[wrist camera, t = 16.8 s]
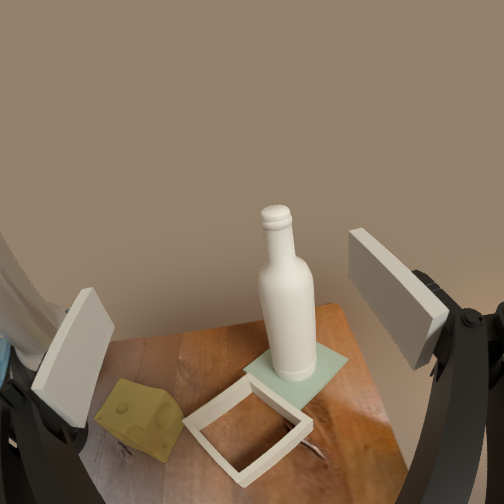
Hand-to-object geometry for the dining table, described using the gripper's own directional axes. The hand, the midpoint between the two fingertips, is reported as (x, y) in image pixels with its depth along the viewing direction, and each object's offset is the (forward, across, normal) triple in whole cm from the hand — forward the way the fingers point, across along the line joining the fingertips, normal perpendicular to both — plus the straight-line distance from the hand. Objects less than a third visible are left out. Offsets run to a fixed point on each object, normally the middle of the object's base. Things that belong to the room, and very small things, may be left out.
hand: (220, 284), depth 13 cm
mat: (+20, +6, -35) cm, 41 cm away
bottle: (+20, +6, -34) cm, 40 cm away
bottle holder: (+8, -4, -35) cm, 36 cm away
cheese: (+10, -21, -35) cm, 42 cm away
